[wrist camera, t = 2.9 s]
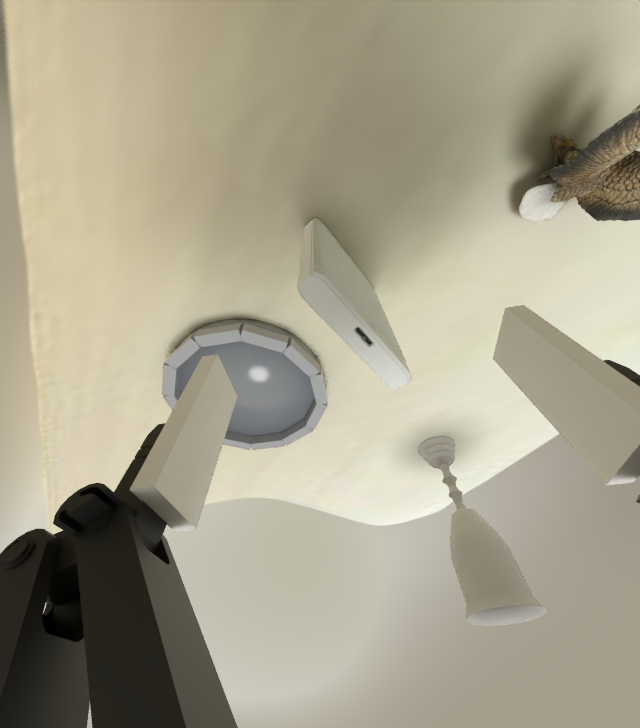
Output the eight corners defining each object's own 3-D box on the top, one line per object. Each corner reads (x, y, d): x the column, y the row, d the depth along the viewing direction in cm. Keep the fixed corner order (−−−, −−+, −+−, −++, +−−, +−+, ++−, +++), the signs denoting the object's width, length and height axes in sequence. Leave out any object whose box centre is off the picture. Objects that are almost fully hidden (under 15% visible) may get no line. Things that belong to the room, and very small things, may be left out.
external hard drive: (317, 214, 22) (319, 267, 12) (377, 290, 25) (416, 379, 16) (301, 229, 22) (291, 291, 12) (362, 301, 26) (390, 393, 16)
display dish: (140, 333, 28) (128, 347, 26) (309, 306, 26) (308, 318, 24) (210, 440, 38) (204, 455, 36) (334, 424, 36) (335, 440, 34)
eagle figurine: (650, 107, 18) (867, 78, 11) (575, 226, 22) (697, 261, 15) (542, 84, 17) (700, 38, 10) (486, 212, 22) (570, 241, 15)
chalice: (461, 458, 41) (538, 621, 27) (414, 466, 42) (465, 627, 28) (461, 426, 37) (554, 601, 23) (409, 436, 38) (466, 609, 24)
